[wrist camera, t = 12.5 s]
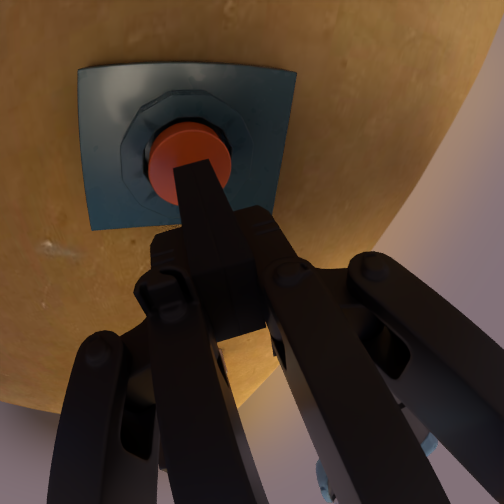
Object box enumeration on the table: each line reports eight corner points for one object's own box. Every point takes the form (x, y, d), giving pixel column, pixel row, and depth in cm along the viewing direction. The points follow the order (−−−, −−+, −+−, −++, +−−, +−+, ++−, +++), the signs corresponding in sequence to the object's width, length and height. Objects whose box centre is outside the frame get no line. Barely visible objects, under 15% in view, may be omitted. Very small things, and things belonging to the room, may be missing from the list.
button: (227, 121, 15) (236, 130, 13) (221, 190, 17) (228, 205, 16) (148, 122, 13) (147, 131, 12) (149, 193, 16) (149, 209, 14)
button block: (283, 69, 17) (311, 76, 14) (261, 204, 23) (280, 234, 20) (86, 66, 13) (68, 72, 10) (95, 213, 19) (87, 248, 16)
